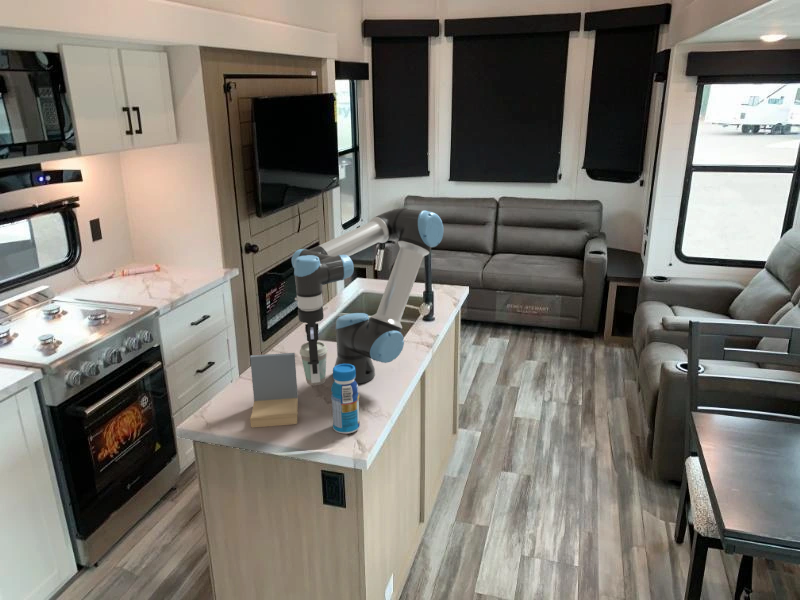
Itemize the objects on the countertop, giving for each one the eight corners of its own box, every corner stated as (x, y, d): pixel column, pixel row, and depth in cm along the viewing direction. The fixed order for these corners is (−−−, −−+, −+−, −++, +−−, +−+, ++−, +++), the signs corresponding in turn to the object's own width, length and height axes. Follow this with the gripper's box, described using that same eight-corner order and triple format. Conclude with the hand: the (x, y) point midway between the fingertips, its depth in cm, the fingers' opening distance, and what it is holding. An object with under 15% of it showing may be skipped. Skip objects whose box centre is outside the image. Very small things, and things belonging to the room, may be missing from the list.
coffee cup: (324, 388, 180) (321, 352, 176) (298, 386, 182) (295, 350, 178) (333, 376, 188) (330, 341, 184) (307, 374, 190) (304, 339, 186)
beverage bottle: (327, 431, 179) (324, 370, 173) (341, 418, 186) (338, 360, 180) (352, 437, 175) (349, 375, 169) (364, 424, 183) (363, 364, 177)
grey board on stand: (298, 402, 197) (294, 352, 191) (297, 424, 183) (293, 371, 177) (255, 405, 195) (250, 355, 189) (250, 428, 181) (245, 374, 175)
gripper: (298, 297, 186) (303, 363, 193) (297, 319, 167) (303, 392, 174) (322, 296, 187) (326, 361, 194) (323, 317, 168) (328, 389, 175)
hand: (315, 376), depth 184 cm, fingers closed on coffee cup, 7 cm apart
